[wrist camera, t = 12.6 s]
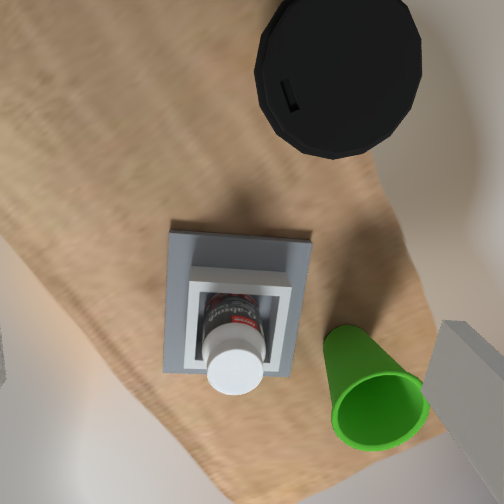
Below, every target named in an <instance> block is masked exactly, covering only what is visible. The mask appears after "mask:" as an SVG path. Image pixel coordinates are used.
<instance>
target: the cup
mask: <svg viewBox="0 0 504 504" xmlns="http://www.w3.org/2000/svg"><path fill="white" fill-rule="evenodd" d="M323 353H324V359H325V365H326V371H327V377H328V383H329V389H330V395H331V401H332V407H333V408H332V413H331V422H332V426H333V430H334V431H335V433H336V435H337V436H338V437H339V438H340V439H341V440H342V441H343V442H344V443H346V444H347V445H349V446H351V447H353V448H355V449H359V450H363V451H381V450H386V449H390V448H393V447H396V446H398V445H400V444H402V443H404V442H405V441H407V440H409V439H410V438H411V437H412V436H414V435H415V434H416V433H417V432H418V431H419V430H420V428H421V427H422V426H423V424H424V423H425V421H426V418H427V416H428V414H429V408H430V404H429V403H428V402H427V400H426V399H425V397H424V396H423V394H422V393H421V388H422V385H423V382H422V381H421V380H420V379H419V378H418V377H416V376H414V375H412V374H410V373H409V372H406V371H405V370H404V369H403V368H402V367H401V366H400V365H399V364H398V363H397V362H396V361H395V360H394V359H393V358H392V357H390V356H389V355H388V354H387V353H386V352H385V351H384V350H383V349H382V348H381V347H380V346H379V345H378V344H377V343H376V342H375V341H374V340H373V339H372V338H371V337H370V336H369V335H368V334H366V333H365V332H364V331H363V330H362V329H360V328H359V327H355V326H352V325H345V326H340V327H338V328H335V329H334V330H332V331H331V332H330V333H329V334H328V336H327V337H326V339H325V342H324V345H323Z"/></svg>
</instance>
